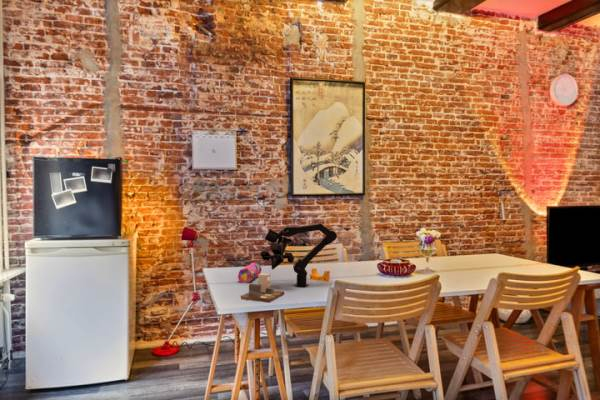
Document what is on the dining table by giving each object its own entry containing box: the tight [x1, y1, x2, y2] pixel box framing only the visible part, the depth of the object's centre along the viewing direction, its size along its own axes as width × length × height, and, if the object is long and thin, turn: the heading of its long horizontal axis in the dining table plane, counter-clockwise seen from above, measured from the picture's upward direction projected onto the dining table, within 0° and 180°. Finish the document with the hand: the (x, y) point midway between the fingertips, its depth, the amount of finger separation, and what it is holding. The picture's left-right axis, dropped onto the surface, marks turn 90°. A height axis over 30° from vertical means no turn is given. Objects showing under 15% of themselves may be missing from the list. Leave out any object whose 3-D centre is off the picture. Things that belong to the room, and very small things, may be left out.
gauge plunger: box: [257, 272, 274, 293], centre depth 225 cm, size 4×8×9 cm, turn 68°
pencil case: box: [237, 262, 263, 284], centre depth 262 cm, size 22×9×9 cm, turn 170°
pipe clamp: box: [309, 268, 331, 283], centre depth 264 cm, size 12×4×6 cm, turn 50°
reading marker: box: [266, 284, 273, 294], centre depth 221 cm, size 2×3×4 cm, turn 68°
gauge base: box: [240, 283, 285, 303], centre depth 223 cm, size 18×16×8 cm
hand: (272, 269), depth 235 cm, fingers closed
